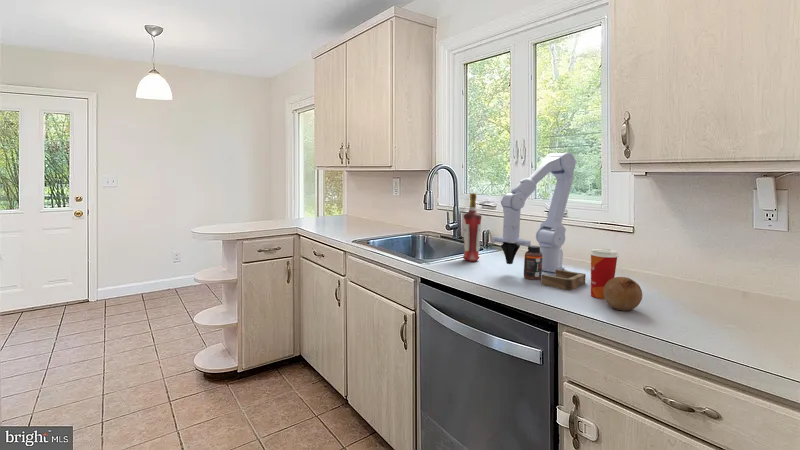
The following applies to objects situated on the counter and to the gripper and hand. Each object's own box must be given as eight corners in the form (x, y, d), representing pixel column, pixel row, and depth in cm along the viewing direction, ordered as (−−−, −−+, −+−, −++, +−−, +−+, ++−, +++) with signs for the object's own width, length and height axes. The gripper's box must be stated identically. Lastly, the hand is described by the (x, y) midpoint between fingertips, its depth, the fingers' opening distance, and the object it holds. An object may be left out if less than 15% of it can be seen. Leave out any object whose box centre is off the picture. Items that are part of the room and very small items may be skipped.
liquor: (461, 258, 180) (462, 192, 177) (478, 258, 180) (480, 193, 177) (463, 262, 173) (465, 193, 169) (481, 262, 173) (483, 194, 169)
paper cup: (592, 291, 132) (595, 247, 130) (619, 296, 127) (622, 250, 125) (582, 296, 127) (585, 250, 125) (609, 302, 121) (613, 254, 119)
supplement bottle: (542, 280, 145) (544, 248, 143) (524, 279, 146) (525, 247, 144) (540, 276, 150) (541, 245, 149) (522, 275, 152) (524, 244, 150)
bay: (557, 278, 148) (557, 269, 148) (585, 283, 142) (585, 274, 141) (541, 284, 139) (541, 275, 139) (570, 290, 133) (570, 280, 132)
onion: (631, 324, 112) (645, 296, 106) (595, 308, 116) (606, 281, 111) (637, 303, 119) (650, 276, 113) (602, 289, 123) (613, 263, 117)
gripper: (488, 225, 154) (486, 262, 156) (524, 229, 144) (522, 268, 146) (498, 224, 159) (496, 259, 161) (534, 227, 149) (532, 265, 151)
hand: (509, 263), depth 154 cm, fingers closed
